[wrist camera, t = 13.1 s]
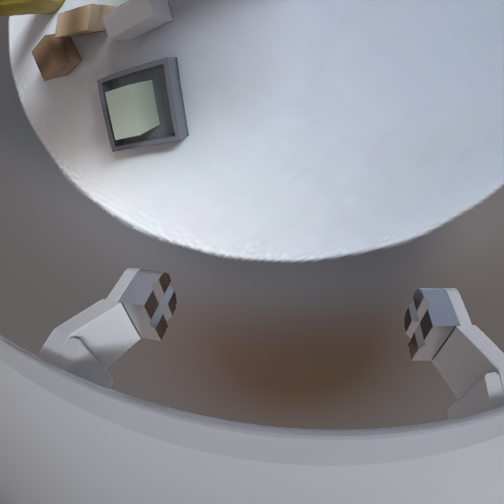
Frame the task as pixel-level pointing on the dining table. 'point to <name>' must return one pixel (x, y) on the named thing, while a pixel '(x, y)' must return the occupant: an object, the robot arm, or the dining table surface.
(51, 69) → the block walnut
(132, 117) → the block sage
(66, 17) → the block oak
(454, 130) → the dining table surface
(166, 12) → the block grey
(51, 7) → the vase
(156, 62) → the slate dish
